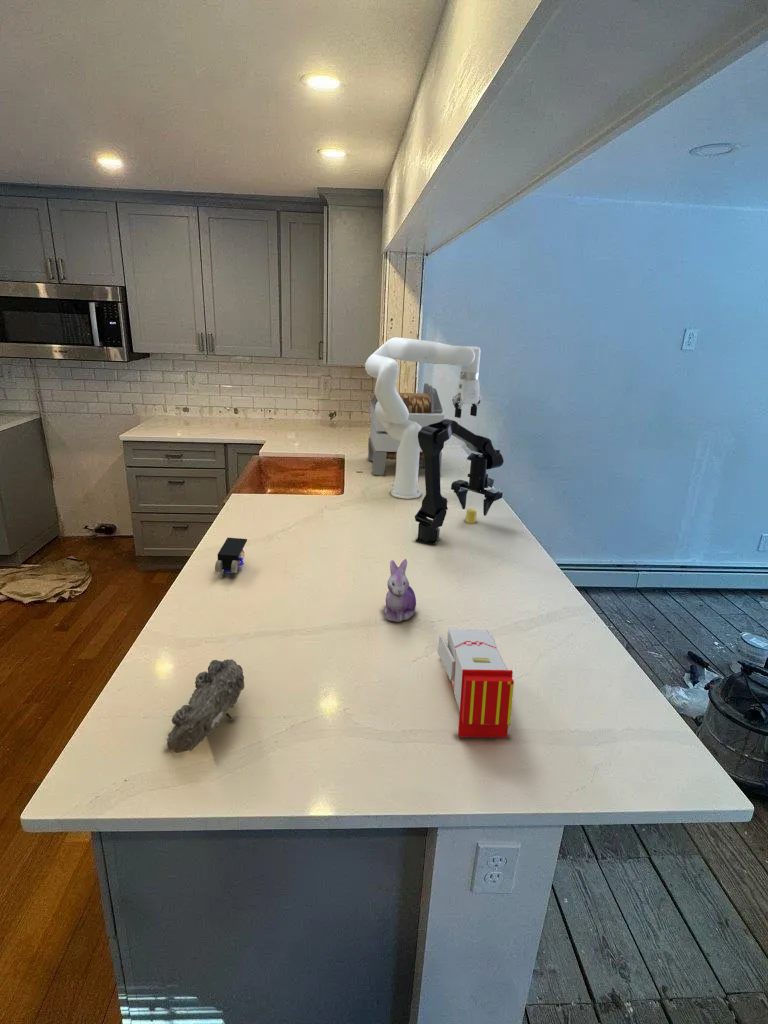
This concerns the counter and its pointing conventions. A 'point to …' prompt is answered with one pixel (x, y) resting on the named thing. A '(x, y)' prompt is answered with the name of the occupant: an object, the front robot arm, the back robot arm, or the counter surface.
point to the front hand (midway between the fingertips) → (474, 512)
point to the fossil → (206, 705)
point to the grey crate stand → (420, 410)
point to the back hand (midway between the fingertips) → (465, 416)
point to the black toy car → (230, 556)
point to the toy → (478, 682)
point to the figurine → (399, 594)
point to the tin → (471, 515)
